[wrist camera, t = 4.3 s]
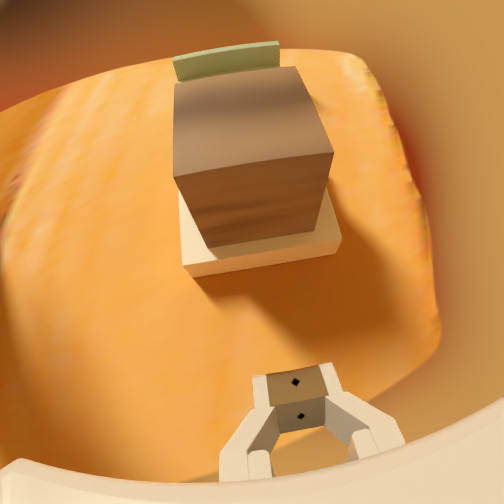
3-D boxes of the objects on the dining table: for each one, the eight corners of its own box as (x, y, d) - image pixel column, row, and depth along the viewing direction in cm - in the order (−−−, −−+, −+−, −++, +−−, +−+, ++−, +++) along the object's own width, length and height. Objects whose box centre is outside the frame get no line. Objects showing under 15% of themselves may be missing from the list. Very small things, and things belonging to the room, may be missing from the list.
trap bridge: (335, 253, 25) (351, 220, 20) (192, 277, 25) (170, 249, 19) (278, 79, 34) (277, 41, 29) (183, 94, 34) (172, 57, 29)
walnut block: (314, 231, 23) (334, 151, 14) (207, 248, 23) (173, 176, 14) (291, 150, 26) (295, 66, 17) (200, 164, 26) (174, 84, 17)
